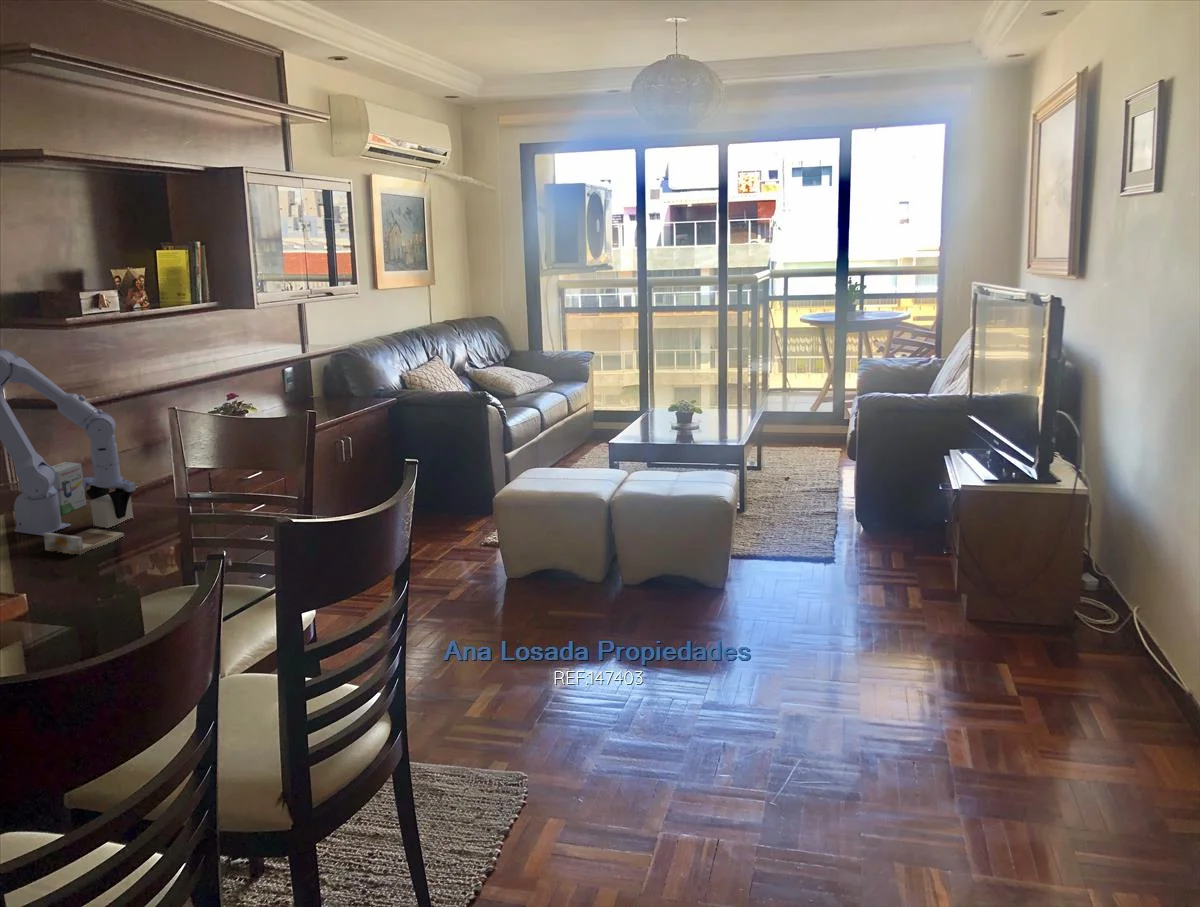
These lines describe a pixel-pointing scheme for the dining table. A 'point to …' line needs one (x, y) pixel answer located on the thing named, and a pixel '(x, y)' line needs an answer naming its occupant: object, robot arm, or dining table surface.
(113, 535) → the cream tray
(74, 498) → the ink box
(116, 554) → the dining table surface
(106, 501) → the carton
